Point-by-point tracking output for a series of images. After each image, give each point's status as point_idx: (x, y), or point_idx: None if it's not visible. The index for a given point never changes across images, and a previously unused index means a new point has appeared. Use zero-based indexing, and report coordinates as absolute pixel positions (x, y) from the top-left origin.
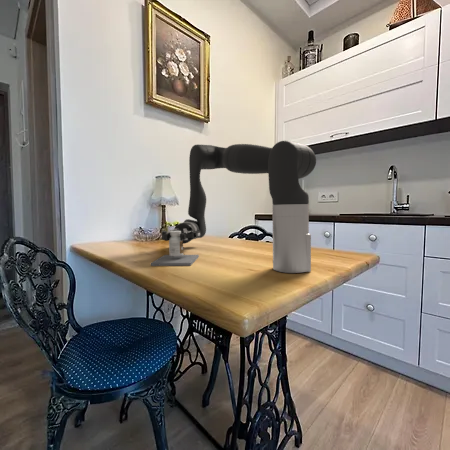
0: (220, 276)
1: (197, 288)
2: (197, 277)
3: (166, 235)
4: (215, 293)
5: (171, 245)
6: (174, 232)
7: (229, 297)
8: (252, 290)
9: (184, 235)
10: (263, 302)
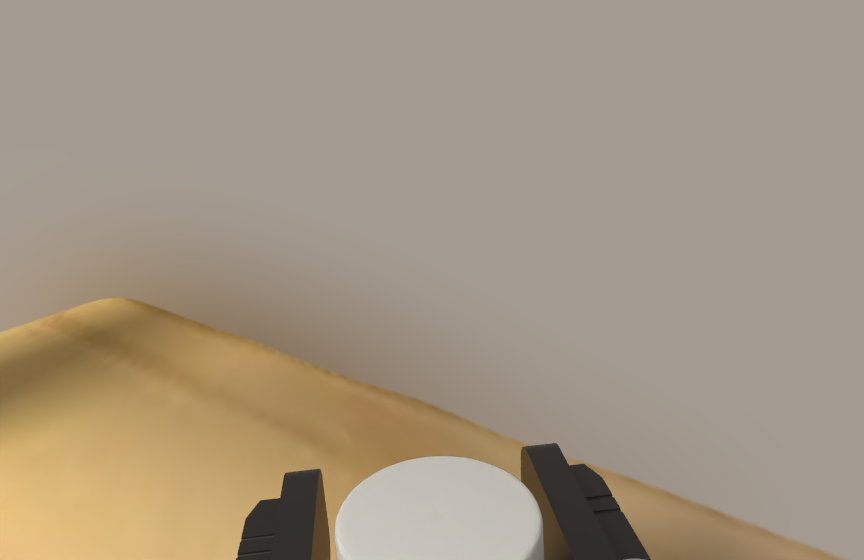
0: (63, 455)
1: (197, 357)
2: (188, 431)
3: (525, 455)
4: (143, 342)
5: None
6: (422, 463)
7: (110, 332)
8: (12, 367)
9: (260, 512)
10: (34, 327)
